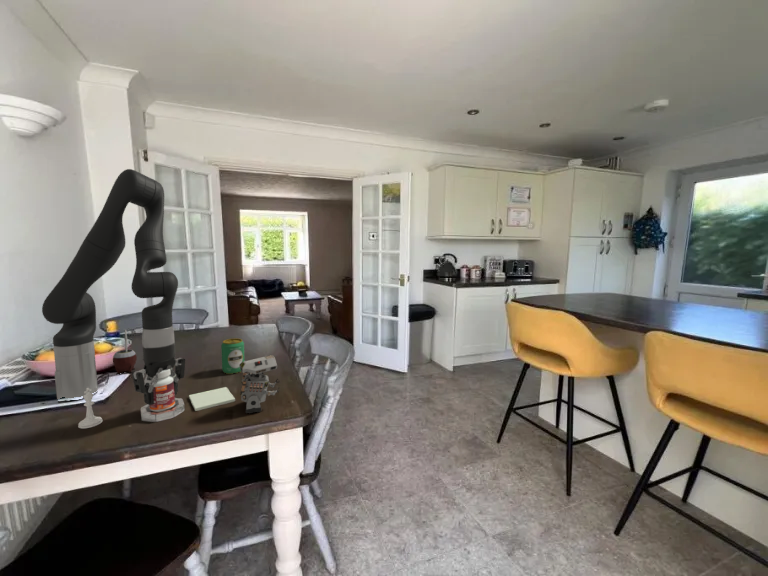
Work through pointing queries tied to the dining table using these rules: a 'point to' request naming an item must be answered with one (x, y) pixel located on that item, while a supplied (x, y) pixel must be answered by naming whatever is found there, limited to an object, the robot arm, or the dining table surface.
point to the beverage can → (232, 355)
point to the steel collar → (164, 415)
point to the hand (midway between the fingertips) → (161, 399)
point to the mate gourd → (124, 359)
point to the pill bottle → (163, 392)
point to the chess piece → (89, 412)
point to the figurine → (256, 382)
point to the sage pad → (211, 398)
